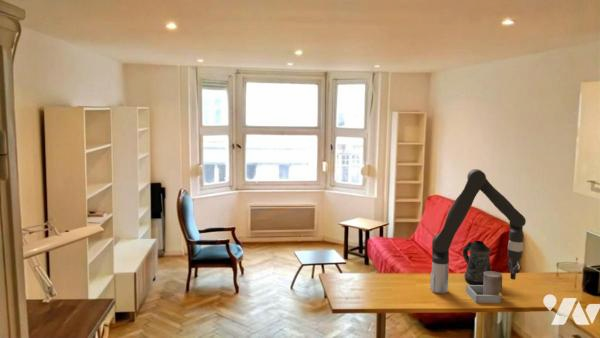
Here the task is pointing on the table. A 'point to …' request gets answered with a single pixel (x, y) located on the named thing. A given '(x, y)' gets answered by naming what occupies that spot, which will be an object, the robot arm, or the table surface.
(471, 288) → the tray
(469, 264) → the beer stein
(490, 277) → the pillar candle
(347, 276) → the table surface
